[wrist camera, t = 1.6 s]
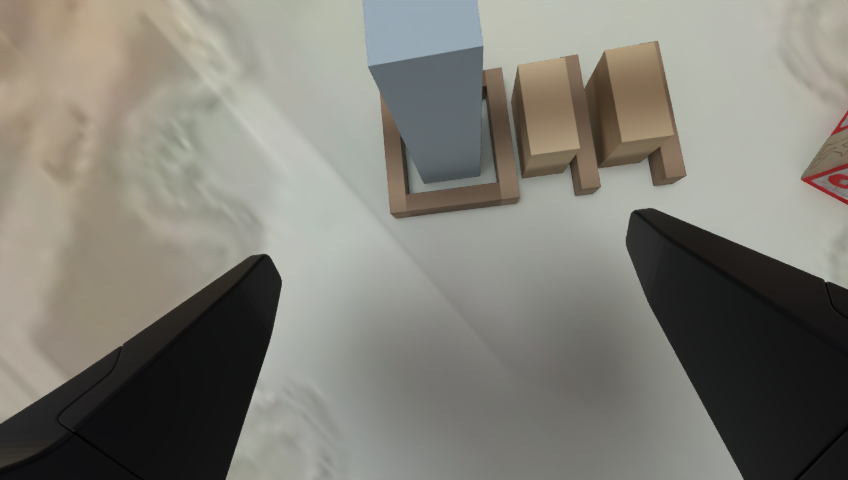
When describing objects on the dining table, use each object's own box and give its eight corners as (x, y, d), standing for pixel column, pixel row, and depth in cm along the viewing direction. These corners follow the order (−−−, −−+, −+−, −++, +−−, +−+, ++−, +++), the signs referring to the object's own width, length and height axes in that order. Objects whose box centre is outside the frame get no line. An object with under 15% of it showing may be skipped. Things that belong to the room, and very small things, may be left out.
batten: (479, 176, 23) (483, 45, 11) (424, 183, 24) (368, 66, 11) (472, 115, 24) (467, -72, 12) (417, 124, 24) (358, -48, 12)
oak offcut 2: (638, 163, 22) (673, 135, 18) (596, 168, 22) (622, 142, 19) (623, 85, 23) (654, 42, 19) (583, 91, 23) (604, 50, 19)
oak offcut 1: (562, 173, 23) (580, 148, 19) (521, 178, 23) (531, 155, 19) (549, 96, 23) (564, 57, 20) (510, 102, 24) (517, 65, 20)
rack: (672, 183, 22) (686, 175, 20) (395, 218, 24) (390, 213, 22) (646, 57, 23) (658, 40, 21) (385, 100, 25) (379, 88, 23)
